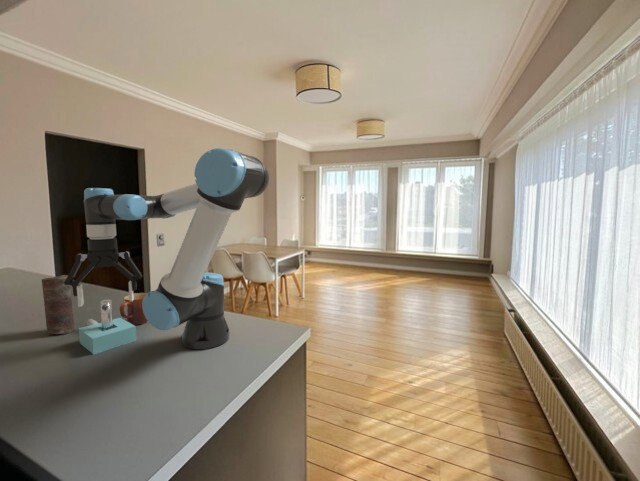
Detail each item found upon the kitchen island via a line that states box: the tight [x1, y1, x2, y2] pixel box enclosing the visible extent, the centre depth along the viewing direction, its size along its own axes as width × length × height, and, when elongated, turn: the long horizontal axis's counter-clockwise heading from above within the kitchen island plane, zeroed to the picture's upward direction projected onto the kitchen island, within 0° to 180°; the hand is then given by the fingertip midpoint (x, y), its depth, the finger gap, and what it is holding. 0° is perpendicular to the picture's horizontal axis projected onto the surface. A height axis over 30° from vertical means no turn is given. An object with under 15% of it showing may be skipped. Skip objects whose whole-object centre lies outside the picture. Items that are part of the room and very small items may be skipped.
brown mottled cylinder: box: [41, 274, 76, 335], centre depth 104 cm, size 8×7×20 cm
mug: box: [119, 292, 149, 326], centre depth 113 cm, size 12×9×10 cm
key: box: [99, 298, 114, 331], centre depth 98 cm, size 6×3×14 cm, turn 24°
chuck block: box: [78, 317, 137, 355], centre depth 101 cm, size 22×12×5 cm, turn 55°
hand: (107, 303), depth 97 cm, fingers open, 13 cm apart
